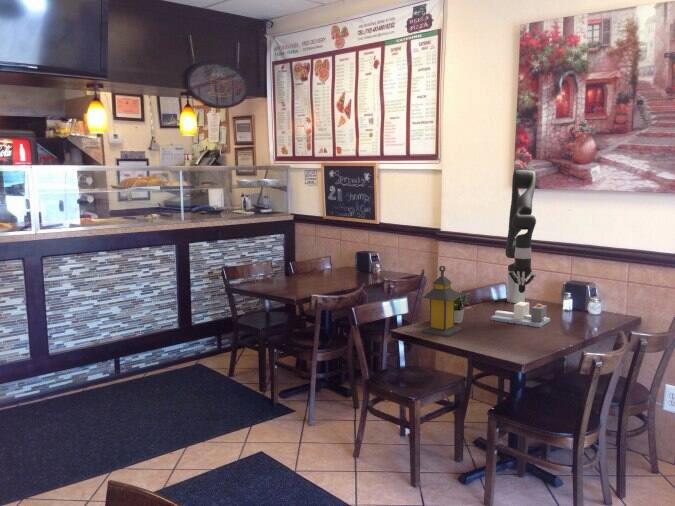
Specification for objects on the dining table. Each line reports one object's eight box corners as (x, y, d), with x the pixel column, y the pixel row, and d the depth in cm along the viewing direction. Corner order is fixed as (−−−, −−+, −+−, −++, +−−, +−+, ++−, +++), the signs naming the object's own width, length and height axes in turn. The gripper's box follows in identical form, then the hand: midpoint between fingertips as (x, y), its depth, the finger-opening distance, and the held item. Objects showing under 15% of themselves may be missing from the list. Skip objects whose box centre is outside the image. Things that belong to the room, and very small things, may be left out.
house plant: (472, 326, 279) (473, 292, 277) (442, 325, 282) (443, 291, 280) (472, 319, 293) (472, 286, 291) (443, 318, 296) (443, 285, 293)
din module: (519, 315, 293) (520, 301, 292) (528, 316, 290) (529, 302, 289) (513, 318, 287) (514, 304, 286) (522, 320, 284) (523, 305, 283)
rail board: (502, 314, 302) (502, 296, 301) (550, 321, 287) (550, 302, 286) (490, 319, 291) (491, 301, 290) (539, 327, 276) (540, 307, 275)
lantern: (436, 325, 283) (436, 262, 278) (463, 330, 274) (464, 265, 269) (420, 332, 272) (420, 266, 268) (447, 337, 263) (448, 269, 259)
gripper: (539, 256, 283) (538, 292, 286) (512, 254, 291) (511, 289, 294) (533, 259, 277) (532, 295, 280) (506, 256, 285) (505, 292, 288)
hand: (521, 292), depth 287 cm, fingers closed
